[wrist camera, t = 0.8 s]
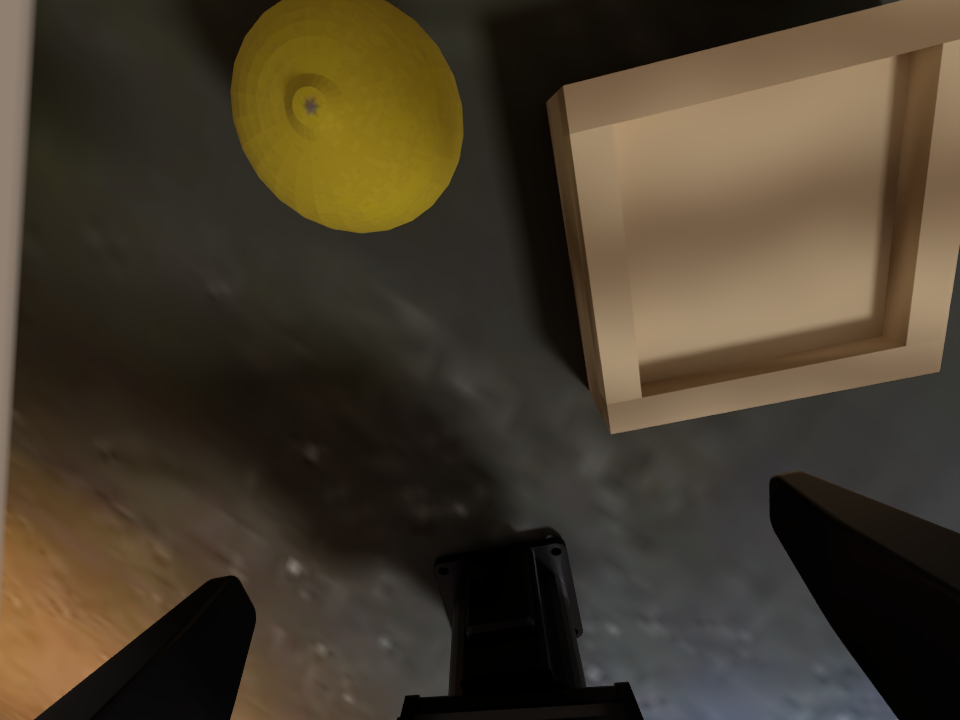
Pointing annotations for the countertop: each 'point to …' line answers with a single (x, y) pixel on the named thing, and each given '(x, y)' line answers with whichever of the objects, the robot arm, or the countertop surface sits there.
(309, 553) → the countertop surface
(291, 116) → the lemon
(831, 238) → the square tray
